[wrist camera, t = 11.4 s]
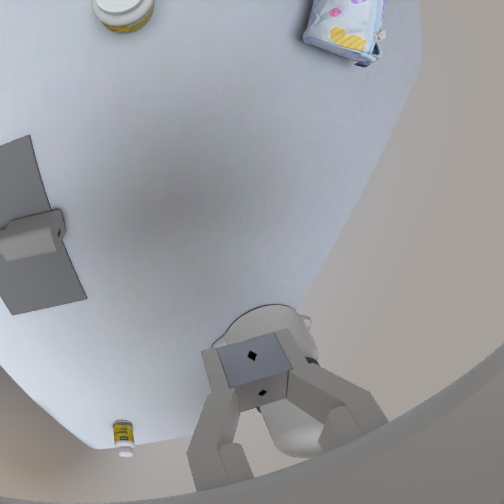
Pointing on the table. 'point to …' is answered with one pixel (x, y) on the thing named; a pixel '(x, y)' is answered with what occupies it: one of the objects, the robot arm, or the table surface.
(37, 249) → the power adapter
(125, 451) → the supplement bottle
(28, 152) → the desk mat
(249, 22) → the table surface
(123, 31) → the supplement bottle
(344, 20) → the pencil case
